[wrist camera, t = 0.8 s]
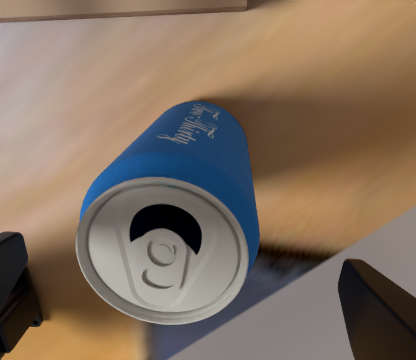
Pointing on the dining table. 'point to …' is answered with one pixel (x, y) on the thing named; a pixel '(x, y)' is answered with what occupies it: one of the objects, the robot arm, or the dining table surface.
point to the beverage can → (173, 219)
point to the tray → (109, 8)
